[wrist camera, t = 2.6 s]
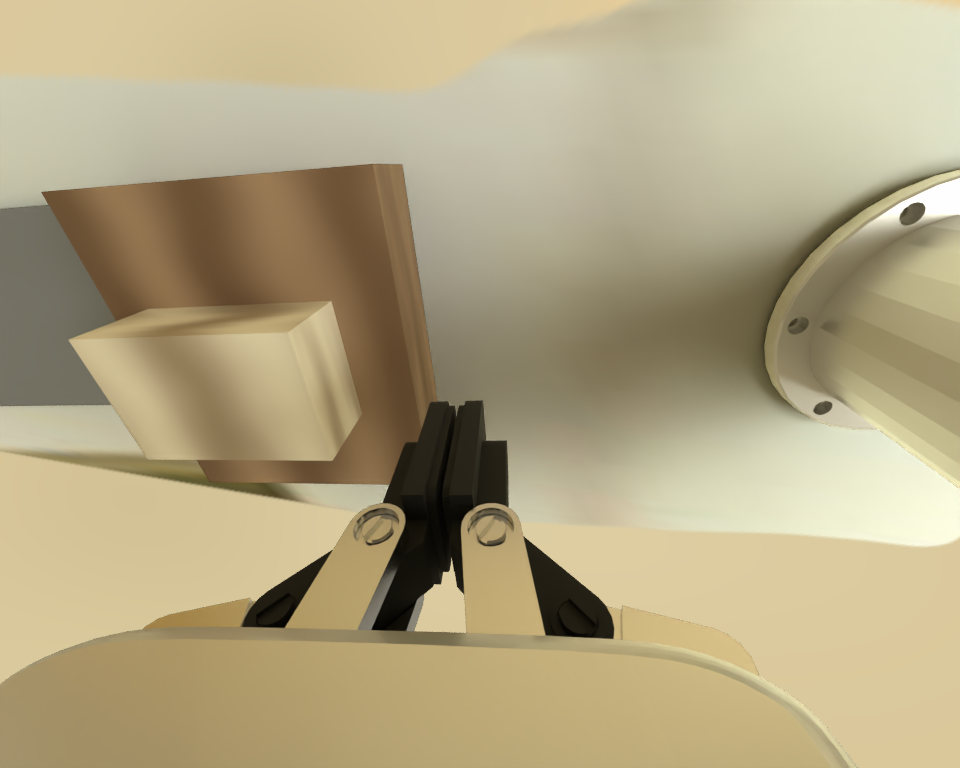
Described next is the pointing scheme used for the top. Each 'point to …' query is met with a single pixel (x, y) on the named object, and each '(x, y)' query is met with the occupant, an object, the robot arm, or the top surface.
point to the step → (278, 283)
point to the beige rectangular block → (227, 381)
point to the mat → (44, 313)
